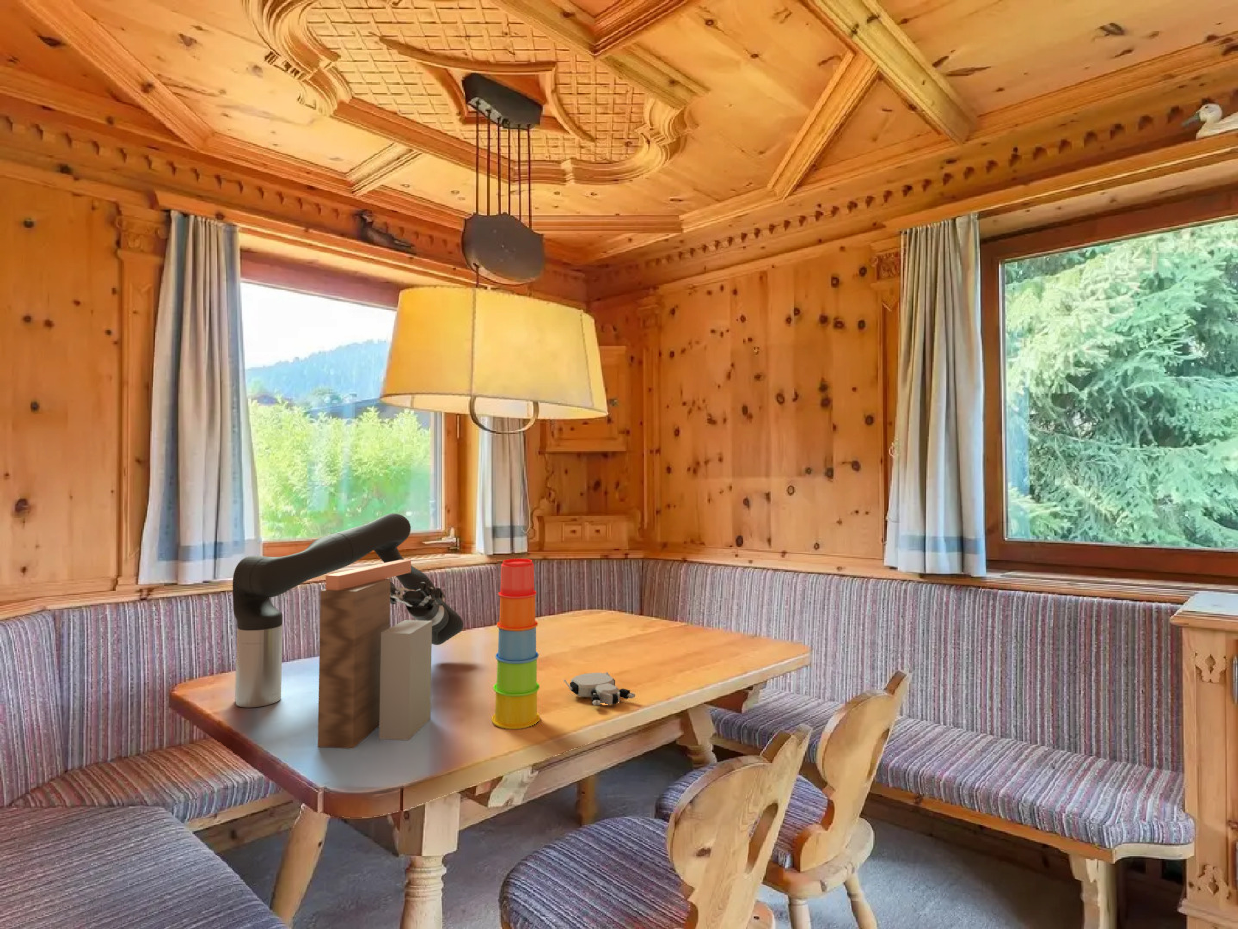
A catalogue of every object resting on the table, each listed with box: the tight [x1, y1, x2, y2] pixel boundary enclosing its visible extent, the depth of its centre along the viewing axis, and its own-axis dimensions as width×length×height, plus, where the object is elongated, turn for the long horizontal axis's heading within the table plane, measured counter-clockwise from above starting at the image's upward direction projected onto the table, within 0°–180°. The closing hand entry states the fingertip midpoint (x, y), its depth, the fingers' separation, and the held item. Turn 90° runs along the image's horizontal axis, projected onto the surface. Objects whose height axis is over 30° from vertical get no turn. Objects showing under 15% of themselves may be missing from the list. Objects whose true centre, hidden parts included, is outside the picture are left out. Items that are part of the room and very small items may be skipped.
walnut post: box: [317, 578, 391, 749], centre depth 137 cm, size 7×16×30 cm, turn 175°
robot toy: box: [563, 671, 636, 706], centre depth 159 cm, size 12×4×15 cm
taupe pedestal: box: [378, 619, 433, 741], centre depth 140 cm, size 6×12×21 cm, turn 175°
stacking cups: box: [491, 557, 541, 730], centre depth 145 cm, size 10×10×35 cm
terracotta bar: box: [325, 559, 412, 590], centre depth 143 cm, size 3×26×3 cm, turn 166°
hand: (405, 585), depth 162 cm, fingers open, 8 cm apart
